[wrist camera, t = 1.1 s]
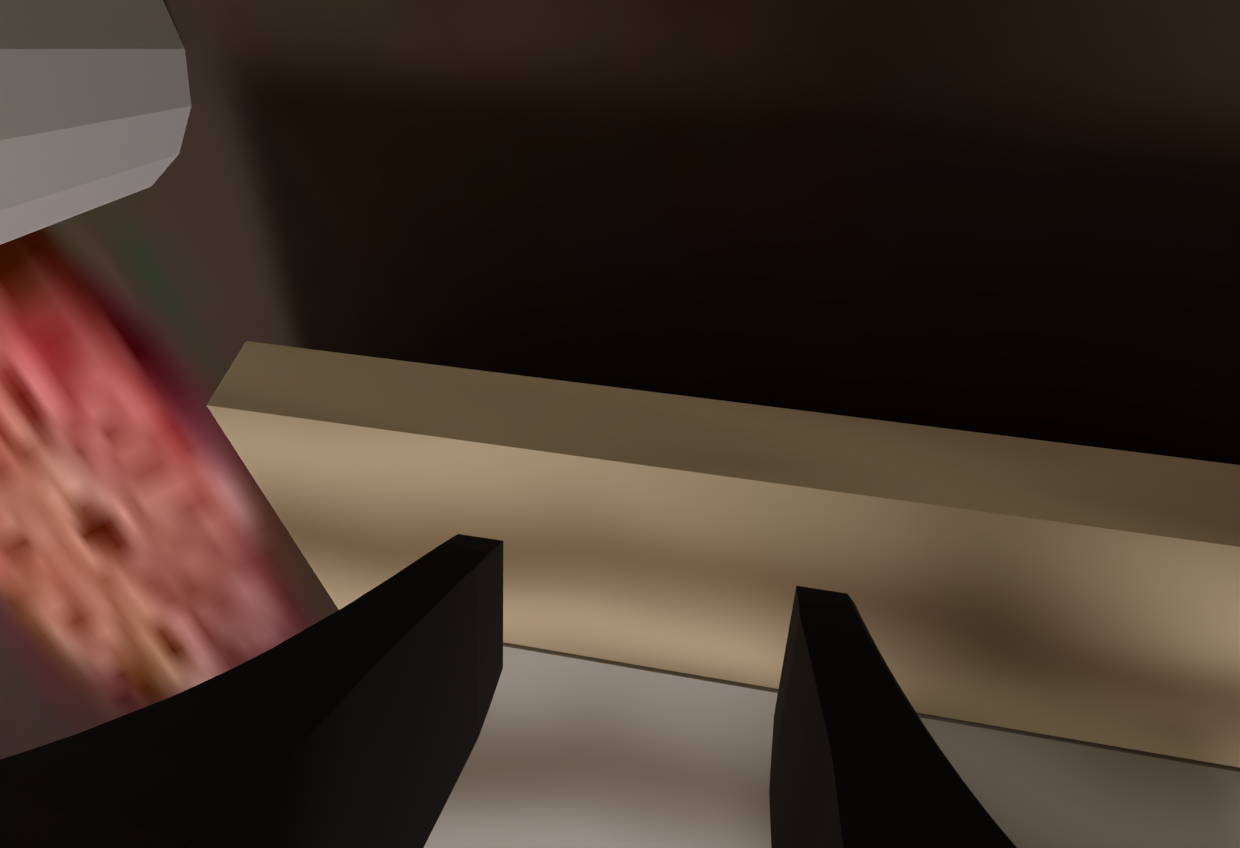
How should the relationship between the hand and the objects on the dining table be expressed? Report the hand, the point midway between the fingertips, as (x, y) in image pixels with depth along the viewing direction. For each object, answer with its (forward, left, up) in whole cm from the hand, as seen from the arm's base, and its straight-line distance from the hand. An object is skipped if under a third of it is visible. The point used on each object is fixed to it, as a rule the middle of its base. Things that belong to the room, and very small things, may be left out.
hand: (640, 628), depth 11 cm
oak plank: (-2, -3, -6) cm, 7 cm away
